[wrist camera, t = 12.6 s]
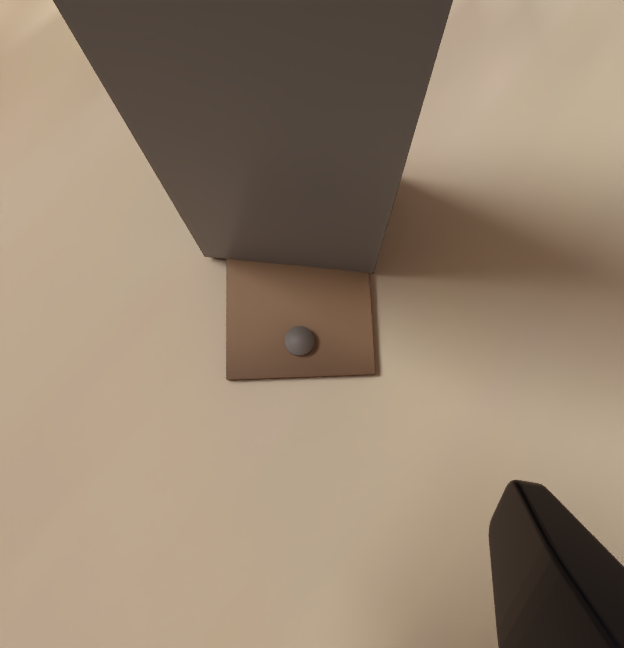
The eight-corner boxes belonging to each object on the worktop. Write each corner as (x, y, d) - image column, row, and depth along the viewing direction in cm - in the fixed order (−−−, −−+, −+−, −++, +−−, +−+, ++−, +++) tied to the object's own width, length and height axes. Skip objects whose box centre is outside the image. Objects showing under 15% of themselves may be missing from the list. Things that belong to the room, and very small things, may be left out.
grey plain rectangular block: (373, 273, 19) (477, -85, 6) (204, 256, 19) (-19, -120, 7) (382, 165, 20) (489, -333, 7) (221, 150, 20) (56, -354, 8)
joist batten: (374, 374, 18) (375, 373, 18) (227, 380, 18) (225, 378, 18) (355, 68, 21) (356, 61, 21) (227, 74, 21) (225, 67, 21)
